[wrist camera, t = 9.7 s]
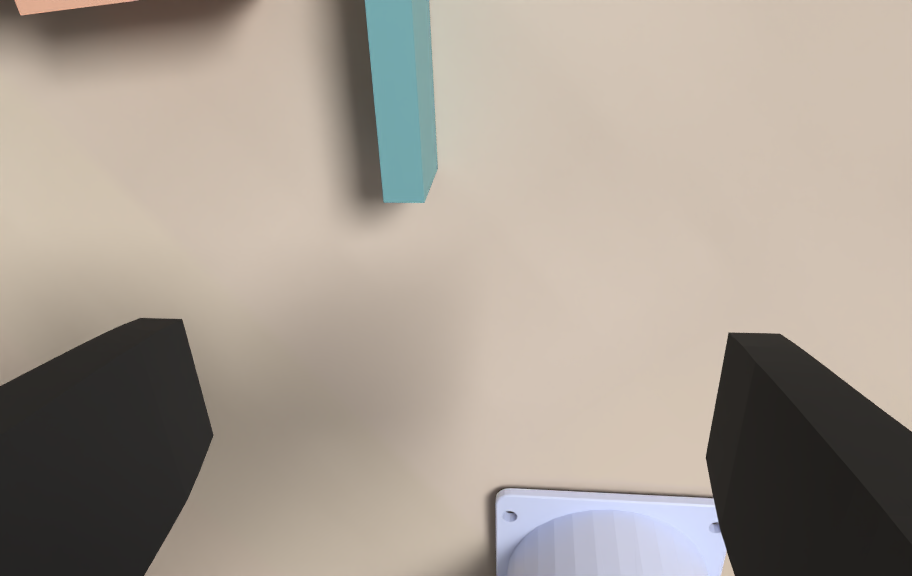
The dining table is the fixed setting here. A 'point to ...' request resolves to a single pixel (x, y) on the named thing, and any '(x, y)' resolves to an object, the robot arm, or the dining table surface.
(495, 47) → the dining table surface
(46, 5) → the salmon pink block
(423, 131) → the box
